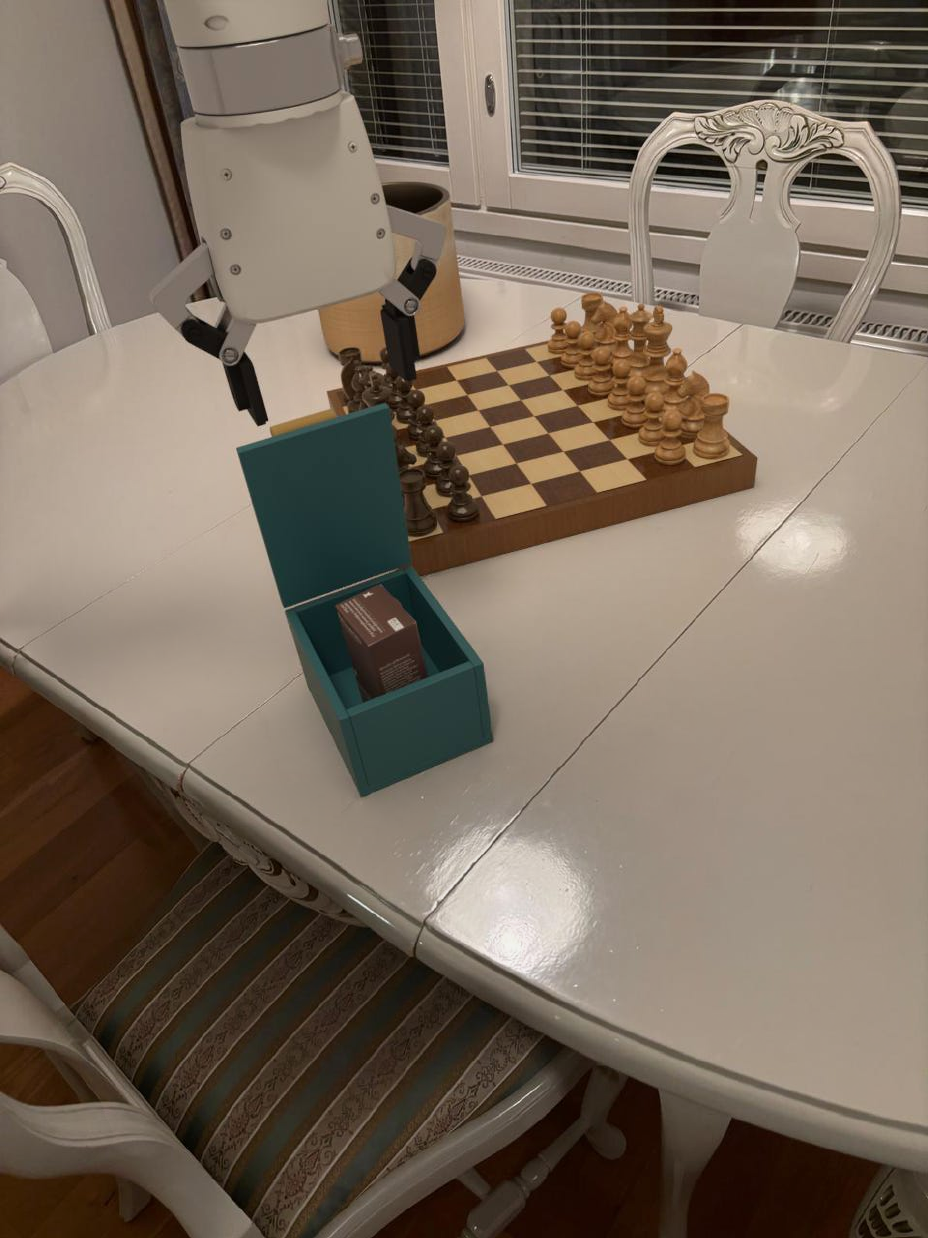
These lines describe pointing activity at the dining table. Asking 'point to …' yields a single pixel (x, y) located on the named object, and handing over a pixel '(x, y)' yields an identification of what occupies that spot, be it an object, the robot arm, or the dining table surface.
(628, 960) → the dining table surface
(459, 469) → the chess set
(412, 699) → the chest
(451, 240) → the planter
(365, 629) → the box
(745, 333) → the dining table surface
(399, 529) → the lid
